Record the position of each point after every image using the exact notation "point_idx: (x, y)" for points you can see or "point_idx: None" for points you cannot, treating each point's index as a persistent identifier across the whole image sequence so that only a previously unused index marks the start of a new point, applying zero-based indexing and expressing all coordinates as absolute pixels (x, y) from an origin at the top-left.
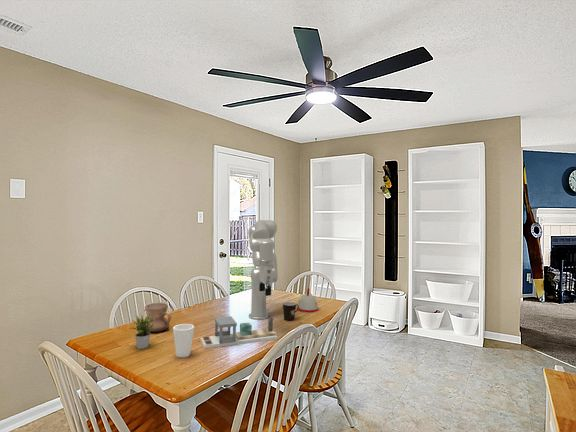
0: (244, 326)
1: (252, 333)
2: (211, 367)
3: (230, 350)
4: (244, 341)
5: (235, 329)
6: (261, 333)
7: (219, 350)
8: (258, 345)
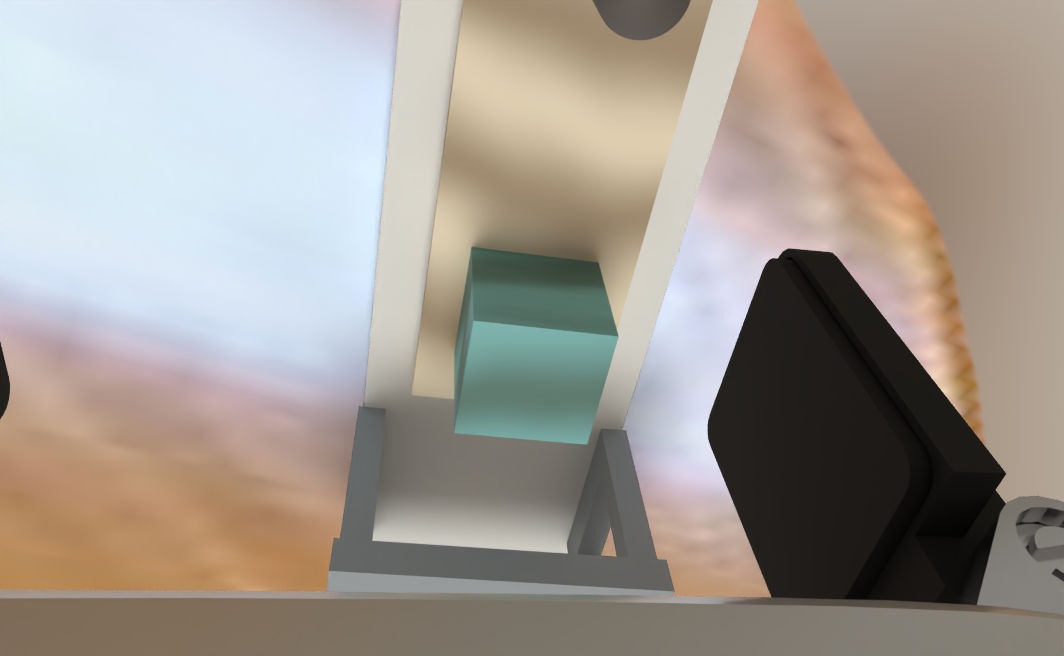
0: (591, 419)
1: (559, 232)
2: None
3: (715, 479)
4: (644, 343)
5: (650, 537)
6: (628, 125)
7: (658, 541)
8: (783, 226)
